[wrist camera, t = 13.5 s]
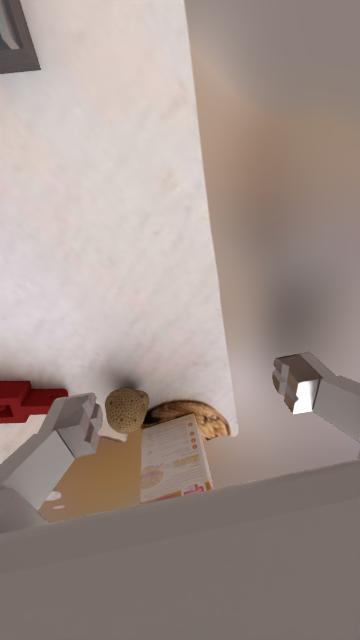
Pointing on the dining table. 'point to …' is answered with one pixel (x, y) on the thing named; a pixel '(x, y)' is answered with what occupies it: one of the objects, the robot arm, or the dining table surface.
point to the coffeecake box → (173, 460)
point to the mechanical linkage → (25, 401)
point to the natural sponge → (126, 409)
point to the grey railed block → (15, 40)
